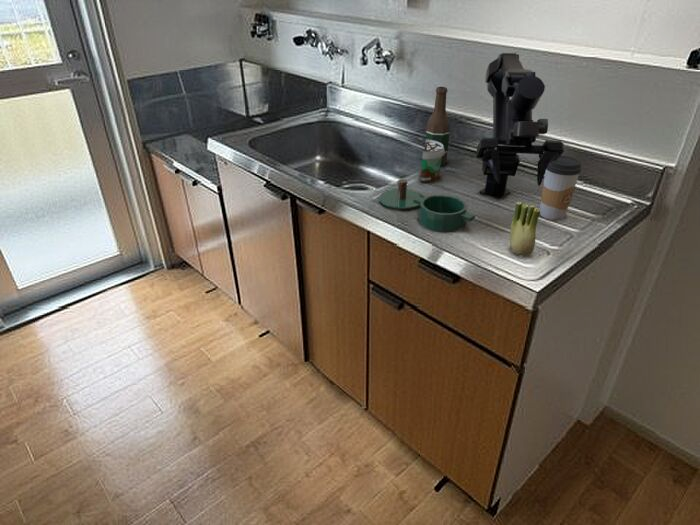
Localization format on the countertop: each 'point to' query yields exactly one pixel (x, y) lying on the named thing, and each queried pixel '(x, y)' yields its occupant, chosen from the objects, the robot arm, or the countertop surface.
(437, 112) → the beer bottle
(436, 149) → the green food package
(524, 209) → the fennel bulb
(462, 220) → the pot
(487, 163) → the robot arm
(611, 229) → the countertop surface
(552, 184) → the coffee cup
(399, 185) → the lid
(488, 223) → the countertop surface
